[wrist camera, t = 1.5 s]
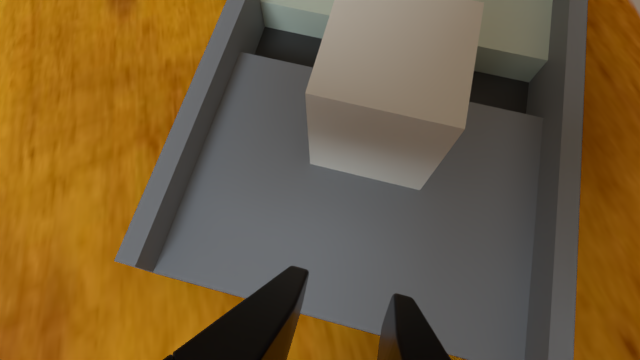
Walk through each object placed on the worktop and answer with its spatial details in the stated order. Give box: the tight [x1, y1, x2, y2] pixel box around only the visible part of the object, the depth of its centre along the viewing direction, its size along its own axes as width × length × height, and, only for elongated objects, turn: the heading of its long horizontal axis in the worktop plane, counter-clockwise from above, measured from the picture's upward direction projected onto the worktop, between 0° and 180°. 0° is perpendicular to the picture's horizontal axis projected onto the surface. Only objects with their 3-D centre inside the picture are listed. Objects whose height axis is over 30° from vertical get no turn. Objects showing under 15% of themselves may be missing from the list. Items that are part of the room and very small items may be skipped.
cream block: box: [305, 0, 484, 190], centre depth 19 cm, size 6×6×7 cm
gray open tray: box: [114, 0, 588, 360], centre depth 23 cm, size 26×20×5 cm
